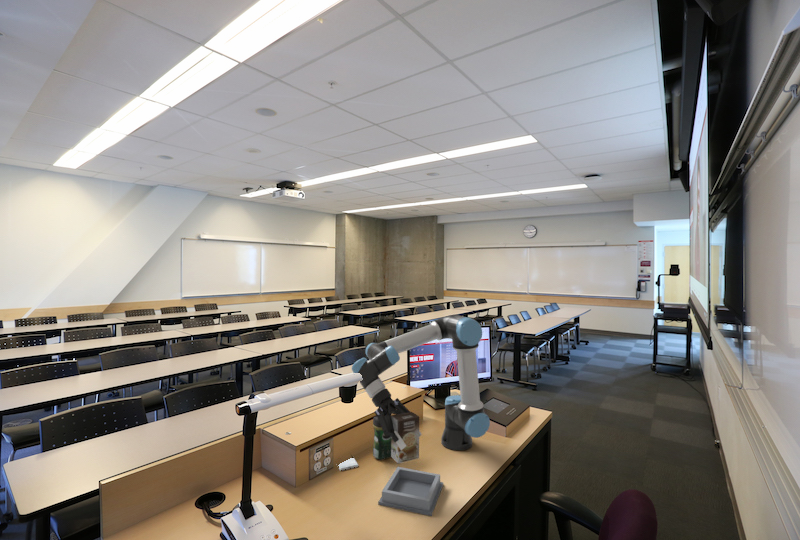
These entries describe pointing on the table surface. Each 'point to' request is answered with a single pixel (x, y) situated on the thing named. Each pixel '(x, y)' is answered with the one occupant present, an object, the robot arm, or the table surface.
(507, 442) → the table surface
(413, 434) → the coffee box
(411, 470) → the dock tray
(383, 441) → the coffee jar
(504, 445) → the table surface
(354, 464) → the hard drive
